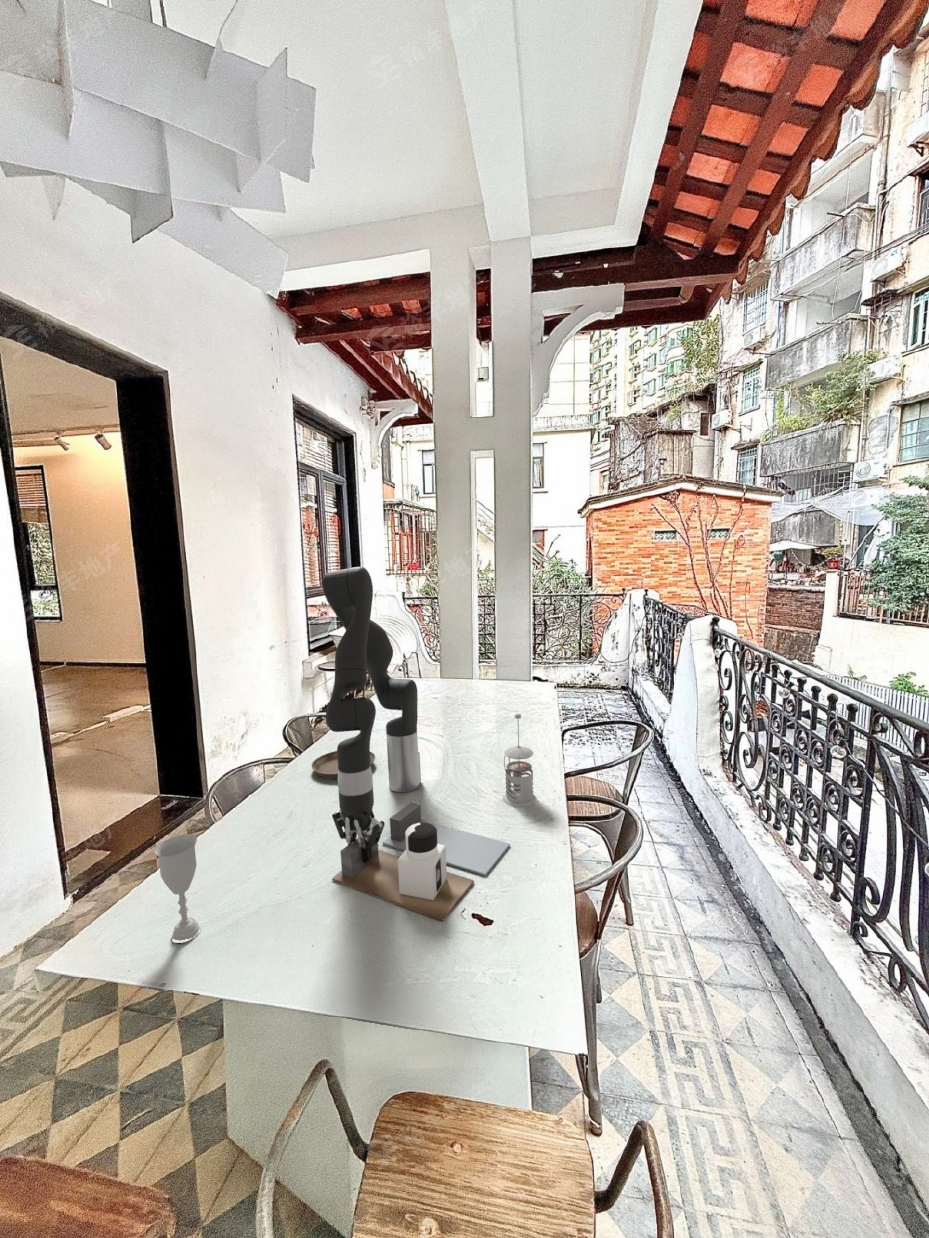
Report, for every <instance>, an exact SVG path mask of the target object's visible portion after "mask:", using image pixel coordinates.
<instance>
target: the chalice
mask: <svg viewBox="0 0 929 1238" xmlns="http://www.w3.org/2000/svg"><path fill="white" fill-rule="evenodd" d="M197 841H198V838H197V836H195V835H194V834H187V833H186V834H178V835H175V836H172V837H170V838H168V839H165V840H164V841H162V842H160V843H158V845H157V846H156V848H155V849H154V854H155V855H156V856H157V858H158V865H159V872H160V873H159V874H160V878H161V879H162V881H163V882H164V884H165V886H166V887H167V888H168V889H169V890H170V891H171V893H172V894H174V895H178V900H177V904H178V905H179V907H180V908H179V910H178V914H179V915H180V916H181V920H179V921H178V922H177V923H176V924H175V926H174V928H173V929H174V930H173V931H172V935H171V937H172V939H175V940H180V941H181V940H185V939H190V938H193V937H194V936H195V935H196V934H197V933H198V931H199V929H200V927H201V926H200V925H199V923H198V922H197V920H196V919H195V918H192V917H188V912H189V909H190V908H189V907H187V905H186V904H187V901H188V898H186V895H185V893H186V892H187V891H188V890H189V889H190V887H191V885H192V882H193V879H194V877H195V873H196V871H197V856H196V847H195V846H196V844H197ZM199 926H200V927H199Z"/></svg>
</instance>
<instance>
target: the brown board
mask: <svg viewBox="0 0 929 1238" xmlns="http://www.w3.org/2000/svg"><path fill="white" fill-rule="evenodd" d="M366 840H367V837H366ZM399 858H400V856H399V855H395V854H392V853H390V852H386V851H383V850H380V849H379V842H378V843H377V844H375V845H374V846H373V847H372V858H371V859H370V860H369V861H368V862H367V863H363V862H362V845H361V841H360V839H359V838H358V837H357V838H356V840H354V841H353V842H352V843H350V844H349V845H348V844H347V845H345V847H344V848H342V849H341V850H340V862H341V863H340V865H341V871H339V872H338V873H337V874H335V875H334V876H333V877H332V878H331V880H332V881H334V882H336V883H338V884H342V885H344V886H348V887H349V888H351V889H355V890H358V891H360V892H363V893H366V894H367V895H368V894H369V895H372V896H373V897H376V898H379V899H382V900H385V901H387V902H390V903H392V904H395V905H398V906H400V907H403V908H405V909H408V910H411V911H414V912H416V913H419V914H422V915H423V916H426V917H429V918H432V919H435V920H438V921H440V922H443V921H444V919H445V918H446V917H447V916H448V915H449V913H450V912H451V911H452V910H453V909H454V907H455V906H456V905H457V903H458V902H459V901H460V900H461V899H462V897H464V895H465V894H466V893H467V891H468V890H469V889H470V888H471V887H472V885H473V884H474V883H475V880H474V879H472V878H468V877H464V876H462V875H459V874H455V873H453V872H449V871H447V878H446V880H445V882H444V884H443V885H442V887H441V889H440V890H439V892H438V894H437V896H436V897H435V899H434V900H428V899H423V898H418V897H413V896H408V895H404V894H400V892H399V874H398V859H399Z"/></svg>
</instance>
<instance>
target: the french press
mask: <svg viewBox="0 0 929 1238" xmlns="http://www.w3.org/2000/svg"><path fill="white" fill-rule="evenodd" d="M514 719H517V745H514V746H510V747H508V748H506V749H505V750H504V753H503V754H504V757H503V768H504V772H505V794H504V795H503V796H502V801H503V803H504V804H506V805H508V806H511V807H515V808H525V807H531V806H532V805H534V804H536V803H537V801H538V798H537V797H538V796H536V795H535V794H534V769H532V767H533V766H532V765H531V763H530V762H526V761H522V760H527V759H531V758H532V756H533V755H534V751H533V750H532V749H531V748H529V747H527V746H524V745H520V735H519V734H520V731H519V729H520V728H519V722H520V721H519V719H522V715H521V714H520V713H516V714H515V715H514ZM506 757H507V758H508V764H506V763H505V759H506ZM510 759H513V760H517V761H511V762H510Z"/></svg>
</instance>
